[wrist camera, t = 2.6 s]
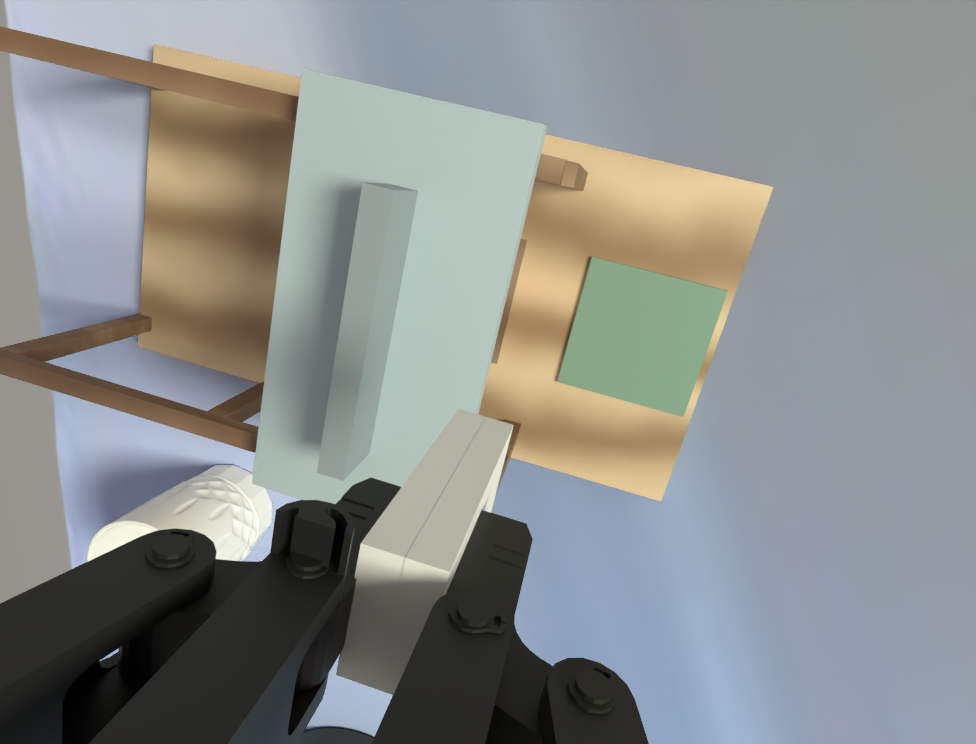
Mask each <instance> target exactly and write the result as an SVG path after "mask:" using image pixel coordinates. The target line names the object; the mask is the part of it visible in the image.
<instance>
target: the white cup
mask: <svg viewBox="0 0 976 744" xmlns="http://www.w3.org/2000/svg"><path fill="white" fill-rule="evenodd" d="M252 478H253V474H252V473H250V472H248V471H246V470H244V469H241V468H239V467H237V466H235V465H215V466H213V467H211V468H209V469H207V470H206V471H204V472H202V473H200V474H198V475H197V476H195V477H193V478H191V479H189V480H185V481H183V482H181V483H180V484H178V485H176V486H174V487H172V488H170V489H168V490H167V491H165V492H163V493H162V494H160V495H157V496H156V497H154V498H152V499H150V500H149V501H147V502H145V503H144V504H142V505H140V506H139V507H137V508H135V509H134V510H132V511H130V512H129V513H127V514H125V515H123V516H122V517H120V518H118V519H116V520H115V521H113V522H111V523H110V524H108V525H106V526H104V527H103V528H101V529H100V530H99V531H98V532H97V533H96V534H95V535H94V537H93V538H92V540H91V542H90V544H89V547H88V551H87V562H88V561H90V560H92V559H95V558H97V557H99V556H101V555H103V554H105V553H107V552H109V551H111V550H113V549H115V548H117V547H120V546H122V545H124V544H126V543H128V542H130V541H132V540H134V539H136V538H138V537H140V536H143V535H146V534H149V533H152V532H155V531H158V530H165V529H174V528H177V529H187V530H193V531H196V532H199V533H201V534H204V535H206V536H207V537H208V538H209V539H210V540H212V541H213V542H214V545H215V549H216V559H220V560H231V561H243V560H244V558H245V557H246V556H247V555H248V554H249V552H250V551H251V550H252V548H253V547H254V545H255V544H256V543H257V542H258V541H259V540H260V539H261V538H262V537H263V535H264V534H265V532H266V531H267V529H268V528H269V526H270V525H271V523H272V507H273V505H272V503H271V500H270V498H269V495H268V493H267V490H266V488H263V487H260V486H257V485H254V484H252Z"/></svg>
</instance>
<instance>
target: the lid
mask: <svg viewBox="0 0 976 744" xmlns="http://www.w3.org/2000/svg"><path fill="white" fill-rule="evenodd" d="M546 131H547V126H546V125H545V124H541V123H536V122H532V121H528V120H523V119H519V118H515V117H510V116H506V115H501V114H497V113H493V112H488V111H484V110H480V109H475V108H471V107H467V106H462V105H458V104H453V103H449V102H445V101H440V100H436V99H432V98H427V97H423V96H419V95H414V94H410V93H405V92H401V91H397V90H392V89H388V88H384V87H379V86H375V85H370V84H366V83H362V82H357V81H353V80H349V79H344V78H340V77H336V76H331V75H327V74H322V73H318V72H314V71H309V70H305V69H302V75H301V83H300V91H299V100H298V108H297V116H296V124H295V133H294V141H293V149H292V157H291V165H290V174H289V182H288V190H287V198H286V206H285V215H284V223H283V231H282V239H281V248H280V256H279V264H278V272H277V280H276V289H275V297H274V305H273V313H272V322H271V330H270V338H269V346H268V354H267V363H266V371H265V379H264V387H263V395H262V404H261V412H260V420H259V428H258V437H257V445H256V453H255V461H254V469H253V478H252V484H254V485H257V486H260V487H263V488H266V489H269V490H273V491H276V492H279V493H282V494H285V495H288V496H292V497H295V498H298V499H301V500H319V501H325V502H330V503H333V504H336V503H337V502H338V501H339V500H341V498H342V496H343V495H344V494H345V493H346V492H347V491H348V490H349V489H350V487H351V486H352V485H354V484H357V483H359V482H361V481H364V480H366V479H368V478H374V479H378V480H381V481H384V482H387V483H391V484H394V485H397V486H400V487H402V486H403V484H404V483H405V482H406V480H407V479H408V478H409V476H410V475H411V473H412V472H413V471H414V469H415V468H416V467H417V465H418V464H419V462H420V461H421V460H422V458H423V457H424V456H425V454H426V453H427V451H428V450H429V449H430V447H431V446H432V445H433V443H434V442H435V440H436V439H437V438H438V436H439V435H440V434H441V432H442V431H443V429H444V428H445V427H446V425H447V424H448V423H449V421H450V420H451V418H452V417H453V416H454V414H455V413H456V412H457V410H458V409H461V410H464V411H468V412H471V413H474V414H479V410H480V405H481V401H482V397H483V393H484V389H485V385H486V381H487V376H488V372H489V368H490V364H491V360H492V356H493V351H494V347H495V343H496V339H497V335H498V331H499V326H500V322H501V318H502V314H503V310H504V306H505V301H506V297H507V293H508V289H509V285H510V281H511V277H512V272H513V268H514V264H515V260H516V256H517V252H518V247H519V243H520V239H521V235H522V231H523V227H524V222H525V218H526V214H527V210H528V206H529V202H530V198H531V193H532V189H533V185H534V181H535V177H536V173H537V168H538V164H539V160H540V156H541V152H542V148H543V143H544V139H545V135H546Z"/></svg>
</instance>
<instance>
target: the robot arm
mask: <svg viewBox="0 0 976 744" xmlns="http://www.w3.org/2000/svg"><path fill="white" fill-rule="evenodd" d="M513 426H514V425H512V424H509V423H506V422H502V421H499V420H495V419H492V418H488V417H485V416H481V415H478V414H474V413H471V412H468V411H464V410H461V409H458V410H457V412H456V413H455V414H454V416H453V417H452V418H451V420H450V421H449V423H448V424H447V425H446V427H445V428H444V429H443V431H442V432H441V434H440V435H439V436H438V438H437V439H436V440H435V442H434V443H433V445H432V446H431V447H430V449H429V450H428V451H427V453H426V454H425V456H424V457H423V458H422V460H421V461H420V462H419V464H418V465H417V467H416V468H415V469H414V471H413V472H412V473H411V475H410V476H409V478H408V479H407V480H406V482H405V483H404V484H403V486H402V487H400V486H397V485H394V484H391V483H387V482H384V481H381V480H378V479H374V478H368V479H366V480H364V481H361V482H359V483H357V484H354V485H352V486H351V487H350V489H349V490H348V491H347V492H346V493H345V494H344V495H343V496H342V498H341V500H339V501H338V502H337V503H336V504H333V503H330V502H325V501H319V500H300V501H296V502H292V503H288V504H286V505H284V506H282V507H281V508H279V509H277V510H276V516H275V523H274V531H273V538H272V546H271V553H270V554H269V555H268V556H267V557H266V558H265V559H264V560H263V561H260V562H242V561H231V560H220V559H216V549H215V545H214V542H213V541H212V540H210V539H209V538H208V537H207V536H206V535H204V534H201V533H199V532H196V531H193V530H187V529H177V528H174V529H165V530H158V531H155V532H152V533H149V534H146V535H143V536H140V537H138V538H136V539H134V540H132V541H130V542H128V543H126V544H124V545H122V546H120V547H117V548H115V549H113V550H111V551H109V552H107V553H105V554H103V555H101V556H99V557H97V558H95V559H92V560H90V561H88V562H86V563H84V564H82V565H80V566H78V567H76V568H74V569H72V570H69V571H68V572H66V573H63V574H61V575H59V576H57V577H55V578H53V579H51V580H49V581H47V582H44V583H42V584H40V585H38V586H36V587H34V588H32V589H30V590H28V591H26V592H24V593H22V594H20V595H17V596H15V597H13V598H11V599H9V600H7V601H5V602H3V603H1V604H0V744H649V743H648V740H647V737H646V734H645V731H644V727H643V724H642V721H641V718H640V715H639V712H638V708H637V705H636V702H635V699H634V697H633V695H632V693H631V691H630V690H629V688H628V686H627V684H626V683H625V682H624V681H623V680H622V679H621V678H620V677H619V676H618V675H617V674H616V673H615V672H613V671H612V670H610V669H609V668H607V667H605V666H604V665H602V664H600V663H598V662H595V661H591V660H588V659H585V658H567V659H565V660H562V661H560V662H557V663H556V664H555V665H554V666H551V665H550V664H548V663H547V662H545V661H544V660H542V659H540V658H539V657H538V656H536V655H535V654H534V653H532V652H531V651H530V650H529V649H528V648H527V647H526V646H525V645H524V644H523V642H522V641H521V639H520V638H519V636H518V634H517V632H516V629H515V625H514V615H515V611H516V607H517V603H518V598H519V594H520V590H521V586H522V582H523V577H524V573H525V569H526V565H527V561H528V556H529V552H530V548H531V544H532V540H533V539H532V537H531V534H530V532H529V529H528V527H527V525H526V523H522V522H519V521H516V520H513V519H509V518H506V517H503V516H500V515H497V514H493V513H491V510H492V507H493V503H494V499H495V495H496V491H497V487H498V484H499V480H500V476H501V472H502V468H503V464H504V461H505V457H506V453H507V449H508V445H509V441H510V438H511V434H512V430H513ZM118 648H119V652H117V653H116V654H114V655H113V656H111V657H109V658H107V659H105V660H102V661H100V662H99V660H101V659H102V658H104V657H105V656H107V655H108V654H110V653H112V652H113V651H115V650H116V649H118ZM339 654H340V657H339V662H338V667H337V673H336V675H338V676H341V677H344V678H347V679H350V680H352V681H355V682H358V683H361V684H364V685H367V686H369V687H372V688H375V689H378V690H381V691H384V692H386V693H389V694H392V695H393V697H392V699H391V701H390V704H389V706H388V708H387V710H386V713H385V715H384V717H383V719H382V722H381V724H380V726H379V728H378V731H377V733H376V735H375V737H374V738H372V737H370V736H367V735H365V734H362V733H359V732H355V731H351V730H346V729H337V728H322V729H315V730H310V731H307V732H304V730H305V728H306V727H307V725H308V723H309V721H310V720H311V718H312V716H313V714H314V713H315V711H316V709H317V707H318V706H319V704H320V702H321V700H322V698H323V695H324V692H325V689H326V684H327V678H328V673H329V671H330V669H331V668H332V666H333V664H334V662H335V661H336V659H337V657H338V656H339ZM303 732H304V733H303Z"/></svg>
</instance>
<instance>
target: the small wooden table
mask: <svg viewBox="0 0 976 744" xmlns="http://www.w3.org/2000/svg"><path fill="white" fill-rule="evenodd" d="M0 51H4V52H8V53H12V54H16V55H21V56H25V57H29V58H33V59H37V60H41V61H46V62H50V63H54V64H58V65H62V66H66V67H70V68H75V69H79V70H83V71H87V72H91V73H95V74H100V75H104V76H108V77H112V78H116V79H120V80H124V81H129V82H133V83H137V84H141V85H145V86H149V87H151V106H150V125H149V144H148V162H147V181H146V200H145V219H144V238H143V257H142V275H141V294H140V313H139V314H136V315H132V316H128V317H124V318H120V319H116V320H112V321H108V322H104V323H100V324H96V325H91V326H87V327H83V328H79V329H75V330H71V331H67V332H63V333H59V334H55V335H51V336H47V337H43V338H39V339H34V340H31V341H26V342H22V343H18V344H14V345H10V346H6V347H2V348H0V374H3V375H6V376H9V377H12V378H16V379H19V380H22V381H26V382H29V383H32V384H35V385H38V386H41V387H45V388H48V389H51V390H54V391H58V392H61V393H64V394H67V395H71V396H74V397H77V398H80V399H83V400H87V401H90V402H93V403H96V404H100V405H103V406H106V407H109V408H113V409H116V410H119V411H122V412H125V413H129V414H132V415H135V416H138V417H142V418H145V419H148V420H151V421H154V422H158V423H161V424H164V425H167V426H171V427H174V428H177V429H180V430H184V431H187V432H190V433H193V434H196V435H200V436H203V437H206V438H209V439H213V440H216V441H219V442H222V443H226V444H229V445H232V446H235V447H238V448H242V449H245V450H248V451H251V452H255V453H256V445H257V437H258V428H259V427H256V426H253V425H250V424H246V423H243V421H245V420H246V419H248V418H250V417H251V416H253V415H255V414H256V413H258V412H260V411H261V404H262V395H263V387H264V379H265V371H266V363H267V354H268V346H269V338H270V330H271V322H272V313H273V305H274V297H275V289H276V280H277V272H278V264H279V256H280V248H281V239H282V231H283V223H284V215H285V206H286V198H287V190H288V182H289V174H290V165H291V157H292V149H293V141H294V133H295V124H296V116H297V108H298V100H299V91H300V83H301V78H299V77H295V76H290V75H286V74H282V73H277V72H273V71H269V70H264V69H260V68H256V67H251V66H247V65H243V64H238V63H234V62H230V61H225V60H221V59H217V58H212V57H208V56H204V55H199V54H195V53H191V52H186V51H182V50H178V49H173V48H169V47H165V46H160V45H156V44H154V50H153V62H149V61H145V60H140V59H136V58H132V57H128V56H123V55H119V54H115V53H111V52H106V51H102V50H98V49H94V48H89V47H85V46H81V45H76V44H72V43H68V42H64V41H59V40H55V39H51V38H47V37H42V36H38V35H34V34H30V33H25V32H21V31H17V30H13V29H8V28H4V27H0ZM772 189H773V187H771V186H767V185H762V184H758V183H754V182H749V181H745V180H741V179H736V178H732V177H728V176H723V175H719V174H715V173H710V172H706V171H702V170H697V169H693V168H689V167H684V166H680V165H676V164H671V163H667V162H663V161H658V160H654V159H650V158H645V157H641V156H637V155H632V154H628V153H624V152H619V151H615V150H611V149H606V148H602V147H598V146H593V145H589V144H585V143H580V142H576V141H572V140H567V139H563V138H559V137H554V136H550V135H545V139H544V143H543V148H542V152H541V156H540V160H539V164H538V168H537V173H536V177H535V181H534V185H533V189H532V193H531V198H530V202H529V206H528V210H527V214H526V218H525V222H524V227H523V231H522V235H521V239H520V243H519V247H518V252H517V256H516V260H515V264H514V268H513V272H512V277H511V281H510V285H509V289H508V293H507V297H506V301H505V306H504V310H503V314H502V318H501V322H500V326H499V331H498V335H497V339H496V343H495V347H494V351H493V356H492V360H491V364H490V368H489V372H488V376H487V381H486V385H485V389H484V393H483V397H482V401H481V405H480V410H479V414H478V415H481V416H485V417H488V418H492V419H495V420H499V421H502V422H506V423H509V424H512V425H514V426H513V430H512V434H511V438H510V441H509V445H508V449H507V453H506V457H505V461H504V464H503V468H502V472H501V476H500V480H499V484H498V487H499V485H500V482H501V479H502V477H503V474H504V472H505V469H506V467H507V464H508V462H509V459H510V457H512V458H516V459H519V460H522V461H526V462H529V463H532V464H536V465H539V466H543V467H546V468H549V469H553V470H556V471H560V472H563V473H566V474H570V475H573V476H577V477H580V478H583V479H587V480H590V481H593V482H597V483H600V484H604V485H607V486H610V487H614V488H617V489H621V490H624V491H627V492H631V493H634V494H638V495H641V496H644V497H648V498H651V499H654V500H658V501H661V500H662V498H663V495H664V492H665V489H666V486H667V484H668V481H669V478H670V475H671V472H672V470H673V467H674V464H675V461H676V458H677V456H678V453H679V450H680V447H681V444H682V442H683V439H684V436H685V433H686V430H687V428H688V425H689V422H690V419H691V416H692V414H693V411H694V408H695V405H696V402H697V399H698V397H699V394H700V391H701V388H702V385H703V383H704V380H705V377H706V374H707V371H708V369H709V366H710V363H711V360H712V357H713V355H714V352H715V349H716V346H717V343H718V341H719V338H720V335H721V332H722V329H723V327H724V324H725V321H726V318H727V315H728V313H729V310H730V307H731V304H732V301H733V299H734V296H735V293H736V290H737V287H738V285H739V282H740V279H741V276H742V273H743V271H744V268H745V265H746V262H747V259H748V257H749V254H750V251H751V248H752V245H753V242H754V240H755V237H756V234H757V231H758V228H759V226H760V223H761V220H762V217H763V214H764V212H765V209H766V206H767V203H768V200H769V198H770V195H771V192H772ZM592 257H596V258H600V259H604V260H608V261H612V262H616V263H620V264H624V265H628V266H632V267H636V268H640V269H644V270H648V271H652V272H656V273H660V274H664V275H668V276H672V277H676V278H680V279H684V280H688V281H692V282H695V283H699V284H703V285H707V286H711V287H715V288H719V289H723V290H727V291H728V292H727V295H726V298H725V301H724V304H723V306H722V309H721V312H720V315H719V318H718V321H717V323H716V326H715V329H714V332H713V335H712V338H711V340H710V343H709V346H708V349H707V352H706V355H705V358H704V360H703V363H702V366H701V369H700V372H699V375H698V377H697V380H696V383H695V386H694V389H693V392H692V394H691V397H690V400H689V403H688V406H687V409H686V411H685V414H684V417H681V416H678V415H674V414H671V413H667V412H663V411H660V410H656V409H653V408H649V407H646V406H642V405H638V404H635V403H631V402H628V401H624V400H620V399H617V398H613V397H610V396H606V395H602V394H599V393H595V392H592V391H588V390H584V389H581V388H577V387H574V386H570V385H566V384H563V383H559V382H557V381H558V377H559V373H560V370H561V366H562V363H563V359H564V356H565V352H566V348H567V345H568V341H569V338H570V334H571V330H572V327H573V323H574V320H575V316H576V312H577V309H578V305H579V302H580V298H581V294H582V291H583V287H584V284H585V280H586V276H587V273H588V269H589V266H590V262H591V259H592ZM135 335H138V347H140V348H143V349H146V350H150V351H153V352H156V353H160V354H163V355H167V356H170V357H173V358H177V359H180V360H184V361H187V362H190V363H194V364H197V365H200V366H204V367H207V368H211V369H214V370H217V371H221V372H224V373H228V374H231V375H234V376H238V377H241V378H245V379H248V380H251V381H255V382H258V383H260V384H258V385H256V386H254V387H252V388H250V389H248V390H246V391H245V392H243V393H241V394H239V395H237V396H235V397H233V398H231V399H229V400H228V401H226V402H224V403H222V404H220V405H218V406H216V407H214V408H212V409H210V410H209V411H204V410H200V409H197V408H194V407H190V406H187V405H184V404H181V403H177V402H174V401H171V400H167V399H164V398H161V397H158V396H154V395H151V394H148V393H144V392H141V391H138V390H135V389H131V388H128V387H125V386H121V385H118V384H115V383H112V382H108V381H105V380H102V379H98V378H95V377H92V376H89V375H85V374H82V373H79V372H75V371H72V370H69V369H66V368H62V367H59V366H56V365H52V364H49V363H46V362H45V361H49V360H52V359H56V358H59V357H62V356H66V355H69V354H73V353H76V352H80V351H83V350H87V349H90V348H94V347H97V346H101V345H104V344H107V343H111V342H114V341H118V340H121V339H125V338H128V337H132V336H135ZM498 487H497V490H498ZM496 492H497V491H496Z"/></svg>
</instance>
